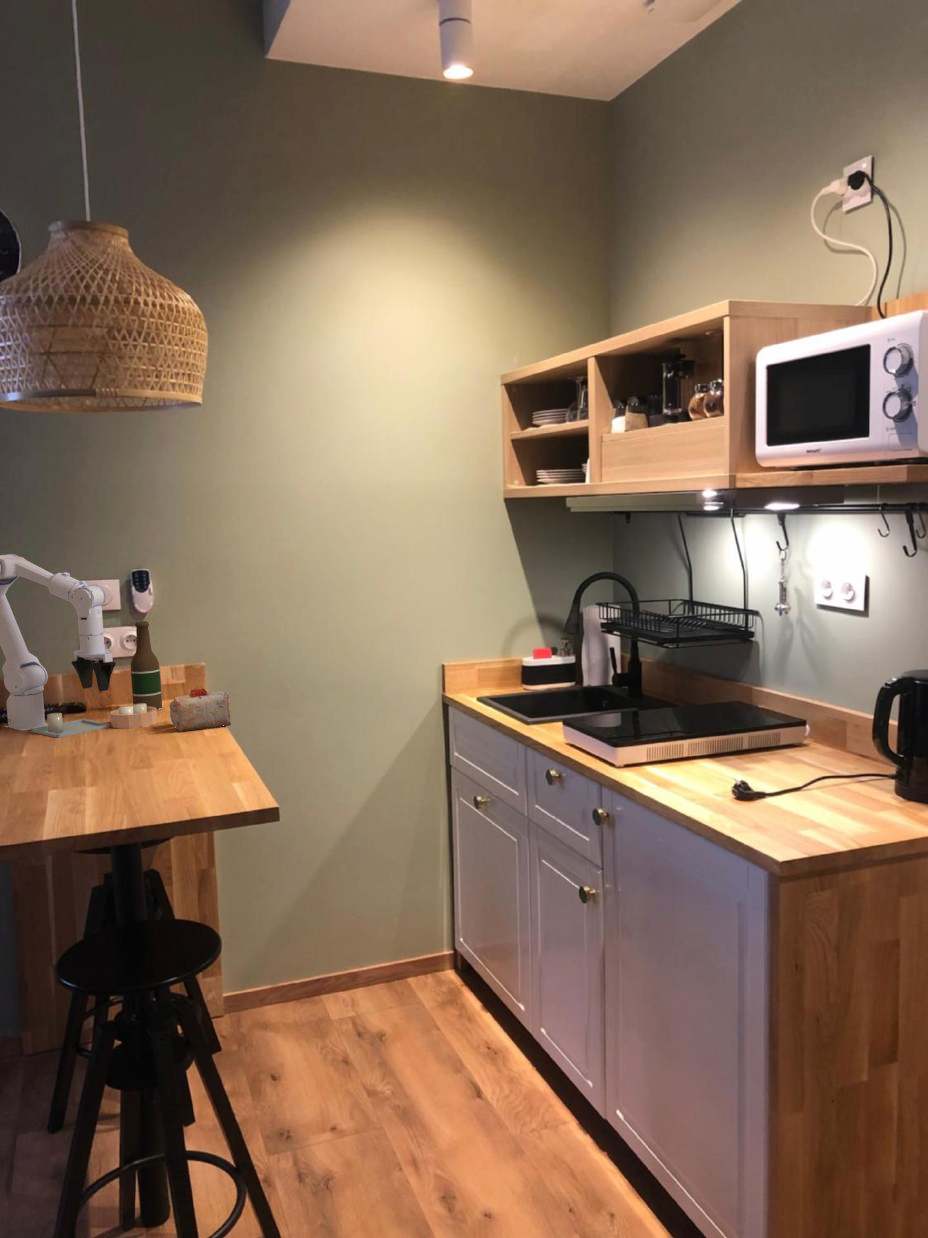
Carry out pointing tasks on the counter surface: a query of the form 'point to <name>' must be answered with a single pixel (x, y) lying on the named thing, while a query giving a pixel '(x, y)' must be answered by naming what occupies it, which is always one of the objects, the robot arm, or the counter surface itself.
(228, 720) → the weathered grey box
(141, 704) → the glossy cream rounded cylinder
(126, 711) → the cream white cylinder
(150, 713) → the bowl
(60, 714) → the white cylinder
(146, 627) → the beer bottle
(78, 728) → the tray
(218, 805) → the counter surface
